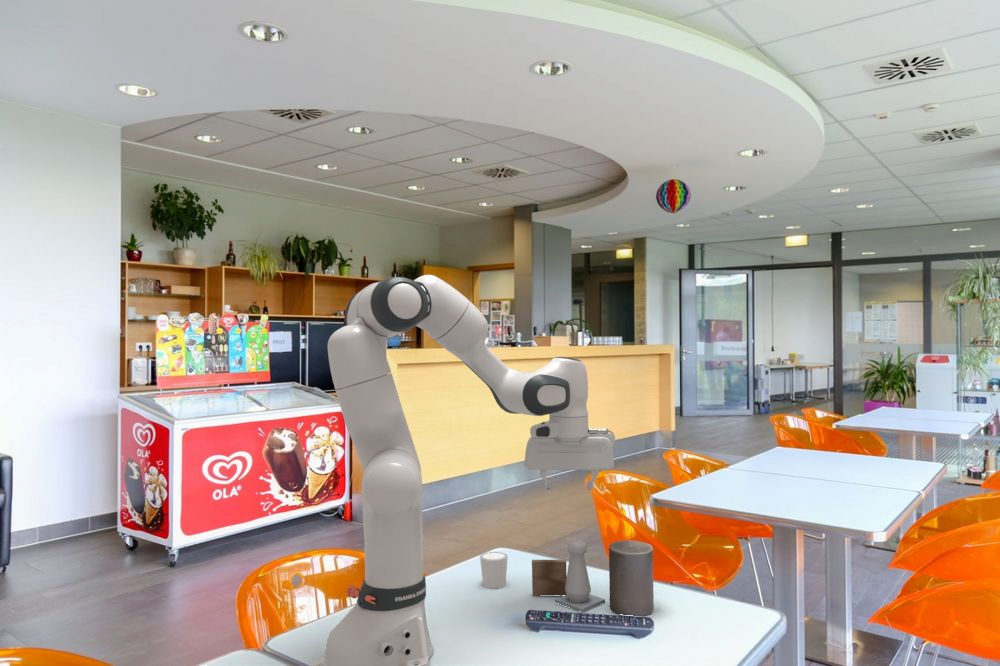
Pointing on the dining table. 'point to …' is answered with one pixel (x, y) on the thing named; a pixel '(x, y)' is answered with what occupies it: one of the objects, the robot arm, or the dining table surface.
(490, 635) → the dining table surface
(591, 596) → the slate mat
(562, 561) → the walnut box
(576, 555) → the salt shaker
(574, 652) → the dining table surface
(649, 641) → the dining table surface
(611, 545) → the pillar candle
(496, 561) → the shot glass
